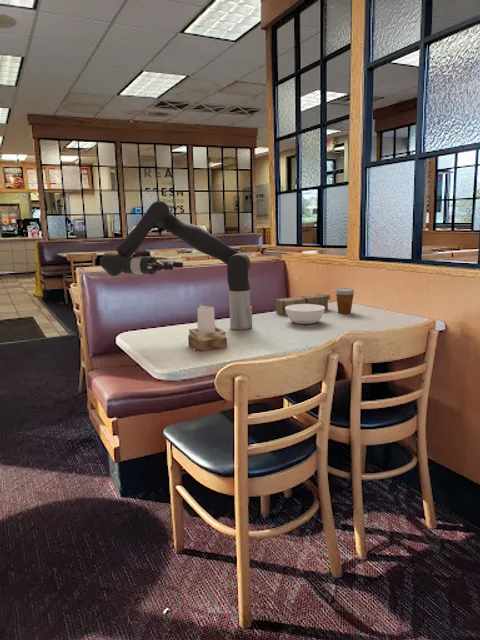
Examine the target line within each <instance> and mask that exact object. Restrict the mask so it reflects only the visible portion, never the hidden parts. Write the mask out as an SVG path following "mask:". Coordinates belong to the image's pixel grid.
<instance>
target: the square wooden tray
mask: <svg viewBox="0 0 480 640" xmlns="http://www.w3.org/2000/svg"><path fill="white" fill-rule="evenodd" d="M188 333H189V335H190V336H191V337H192V338H194V339H195V340H197V341H206V340H214V339H222V338H227V337H226V331H225V330H223V329H221V328H220V327H217V326H216V325H215V332H213V333H204V334H199V333H198V327H195V328H189V329H188Z"/></svg>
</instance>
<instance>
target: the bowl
mask: <svg viewBox="0 0 480 640" xmlns="http://www.w3.org/2000/svg"><path fill="white" fill-rule="evenodd" d="M324 309H325V307H324V306H321V305H315V304H295V305H289V306H286V307H285V310H286V314H287V315H286V316H287V318H288V319H289V320H290V322H292V323H294V324H297V325H298V324H299V325H310V324H311V325H312V324H314V323H317V322H319V321H320V320H321V319H322V317H323V315H324V313H325V310H324Z"/></svg>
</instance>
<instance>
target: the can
mask: <svg viewBox="0 0 480 640" xmlns="http://www.w3.org/2000/svg"><path fill="white" fill-rule="evenodd" d="M197 307H198V308H197V310H196V311H197V312H196V313H197V314H196V315H197V328H198V333H199V334H204V333H213V332H215V326H216V322H215V309H214V306H213V304H212V305H211V304H203V305H202V304H201V305H198V306H197Z"/></svg>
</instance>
